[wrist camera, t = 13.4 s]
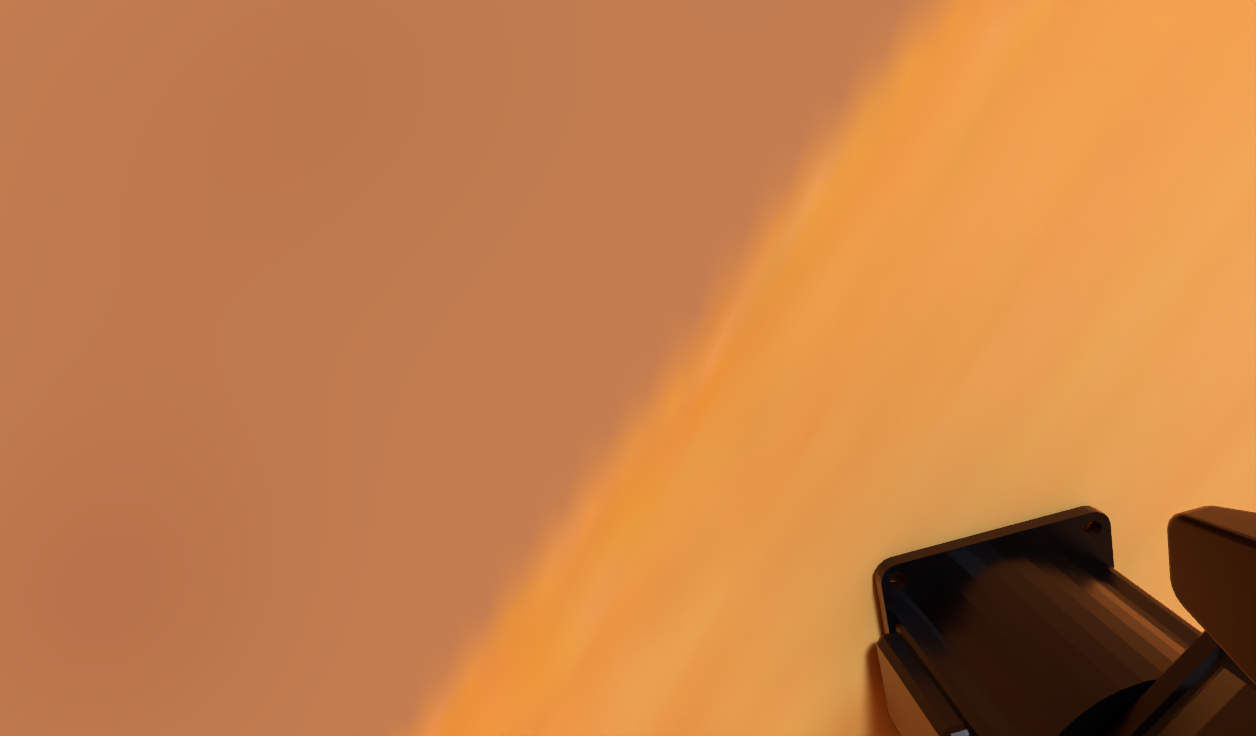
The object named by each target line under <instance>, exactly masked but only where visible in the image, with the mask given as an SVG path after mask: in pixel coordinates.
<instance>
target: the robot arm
mask: <svg viewBox="0 0 1256 736" xmlns="http://www.w3.org/2000/svg"><path fill="white" fill-rule="evenodd" d="M1090 521H1092V525H1091V526H1090V527H1089V528H1088V529H1087V530H1085V531H1084V528H1085V526H1086V524H1087V523H1088V522H1090ZM1167 533H1168V549H1169V566H1170V580H1171V585H1172V588H1173V591H1174V593H1175V595H1176V597H1177V598H1178V600H1179V601H1180V603H1181V604H1182V605H1183V607H1184V608H1185V609H1186V610H1187V611H1188V612H1189V613H1190V614H1191V615H1192V616H1193V617H1194V619H1195V620H1196V621H1197V622H1198V623H1199V624H1200V625H1201V626H1202V627H1203V628H1204V629H1205V631H1204V632H1203V633H1202V632H1201V631H1199V630H1198V629H1196V628H1195V627H1194V626H1192V625H1191V624H1189V623H1188V622H1187V621H1185V620H1184V619H1183V618H1181V617H1180V616H1178V615H1177V614H1176V613H1174V612H1173V611H1172V610H1170V609H1169V608H1167V607H1166V606H1165V605H1163V604H1162V603H1161V602H1159V601H1158V600H1156V599H1155V598H1154V597H1152V596H1151V595H1150V594H1148V593H1147V592H1145V591H1144V590H1143V589H1141V588H1140V587H1139V586H1137V585H1136V584H1134V583H1133V582H1132V581H1130V580H1129V579H1128V578H1126V577H1125V576H1123V575H1122V574H1121V573H1119V572H1118V571H1117V570H1115V569H1114V561H1113V549H1112V536H1111V524H1110V521H1109V518H1108V517H1107V516H1106V515H1105V514H1104V513H1102V512H1101V511H1099V510H1098V509H1096V508H1094V507H1091V506H1081V507H1078V508H1074V509H1070V510H1066V511H1063V512H1059V513H1055V514H1051V515H1047V516H1044V517H1040V518H1036V519H1032V520H1029V521H1025V522H1021V523H1017V524H1014V525H1010V526H1006V527H1002V528H999V529H995V530H991V531H987V532H984V533H980V534H976V535H972V536H969V537H965V538H961V539H957V540H954V541H950V542H946V543H942V544H939V545H935V546H931V547H927V548H924V549H920V550H916V551H912V552H909V553H905V554H901V555H897V556H894V557H890V558H888V559H886V560H884V561H883V562H882V563H881V564H880V565H879V566H878V568H877V570H876V577H875V578H876V584H877V590H878V596H879V602H880V607H881V613H882V619H883V625H884V631H885V634H883V635H881V636H880V638H879V640H878V642H877V644H876V646H877V652H878V658H879V663H880V669H881V675H882V680H883V686H884V692H885V697H886V703H887V709H888V714H889V717H890V718H891V720H892V722H893V723H894V725H895V727H896V728H897V730H898V732H899V733H900V735H901V736H1256V513H1254V512H1248V511H1242V510H1236V509H1230V508H1224V507H1218V506H1203V507H1200V508H1196V509H1192V510H1189V511H1185V512H1181V513H1178V514H1175V515H1174V516H1173V517H1172V518H1171V519H1170V520H1169V523H1168V528H1167ZM897 572H902V575H901V577H900V578H899V579H898V580H896V581H894V582H890V578H891V577H892V576H893V575H894V574H895V573H897Z"/></svg>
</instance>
